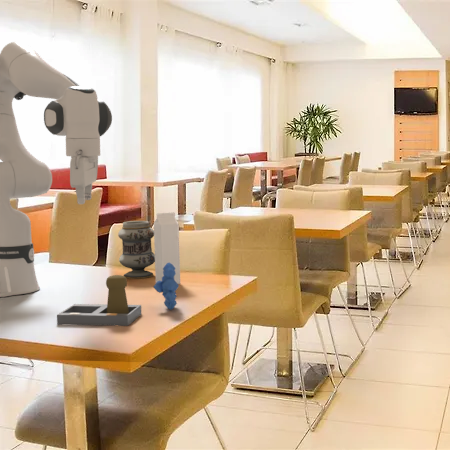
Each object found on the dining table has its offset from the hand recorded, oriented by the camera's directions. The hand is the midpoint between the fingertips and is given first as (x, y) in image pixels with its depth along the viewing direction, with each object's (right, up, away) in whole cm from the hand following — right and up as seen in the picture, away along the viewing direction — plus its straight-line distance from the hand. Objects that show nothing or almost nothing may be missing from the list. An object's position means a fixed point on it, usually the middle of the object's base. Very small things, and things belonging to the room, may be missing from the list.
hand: (84, 201), depth 198 cm
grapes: (+22, -28, +1) cm, 36 cm away
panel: (+6, -30, -9) cm, 32 cm away
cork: (+10, -30, -9) cm, 33 cm away
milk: (+19, -24, +36) cm, 47 cm away
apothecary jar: (+8, -23, +50) cm, 55 cm away
